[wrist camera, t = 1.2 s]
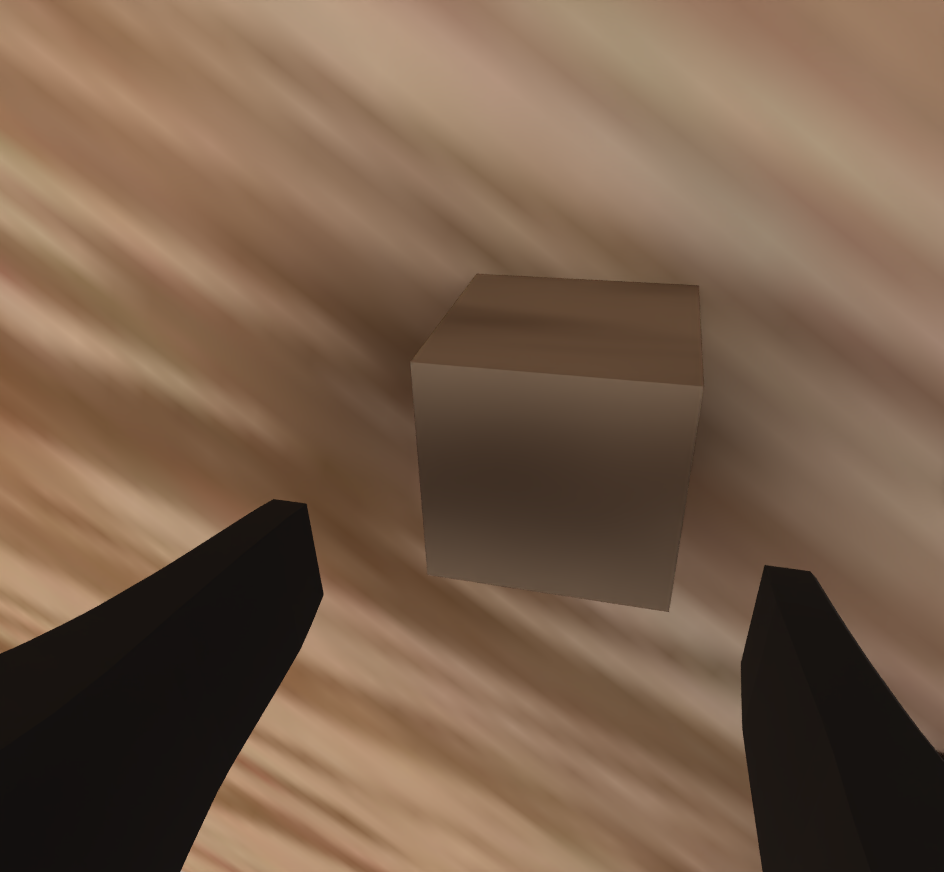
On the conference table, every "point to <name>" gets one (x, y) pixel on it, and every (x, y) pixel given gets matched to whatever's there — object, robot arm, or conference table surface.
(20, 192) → the conference table surface
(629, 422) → the walnut cube
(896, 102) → the conference table surface
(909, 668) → the conference table surface
